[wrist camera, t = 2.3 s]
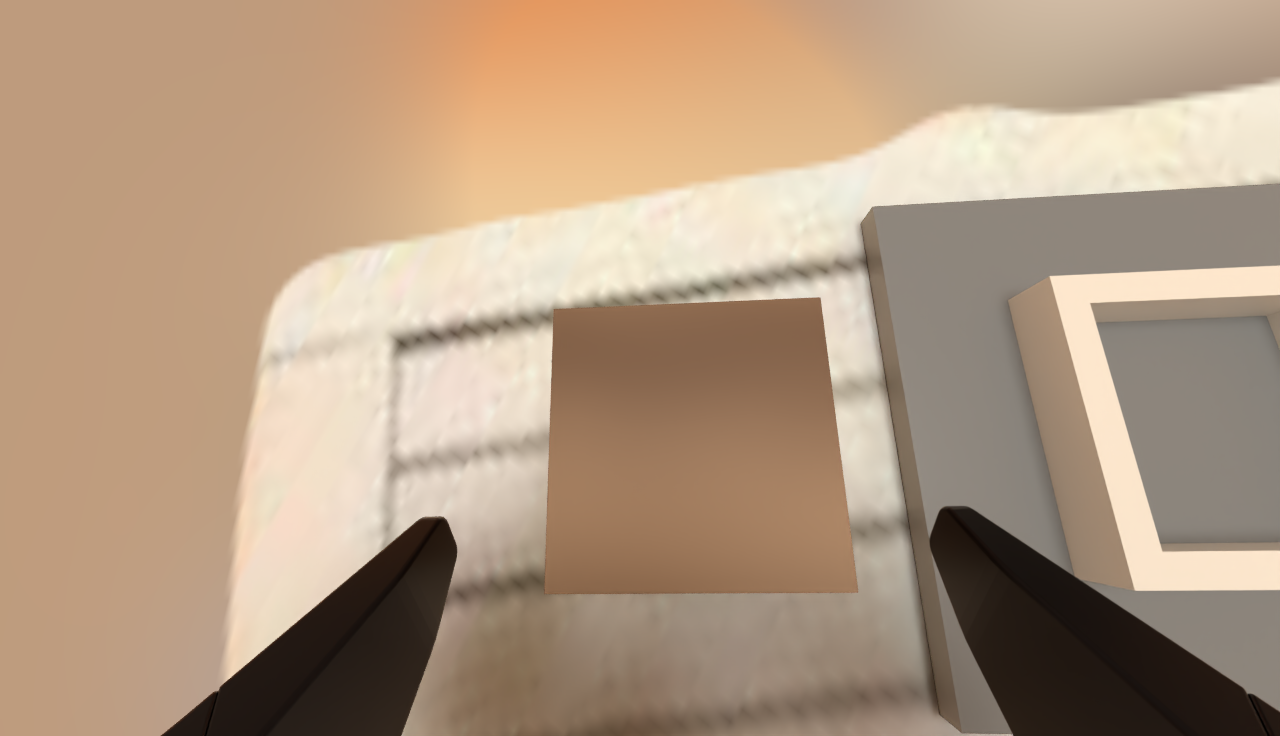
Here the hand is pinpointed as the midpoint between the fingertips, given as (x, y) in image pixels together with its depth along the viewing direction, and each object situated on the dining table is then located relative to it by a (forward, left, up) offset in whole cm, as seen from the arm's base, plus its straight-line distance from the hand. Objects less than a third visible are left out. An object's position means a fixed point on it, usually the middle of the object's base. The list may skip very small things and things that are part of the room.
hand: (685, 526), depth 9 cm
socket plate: (+3, -17, -9) cm, 20 cm away
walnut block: (+2, 0, -9) cm, 9 cm away
